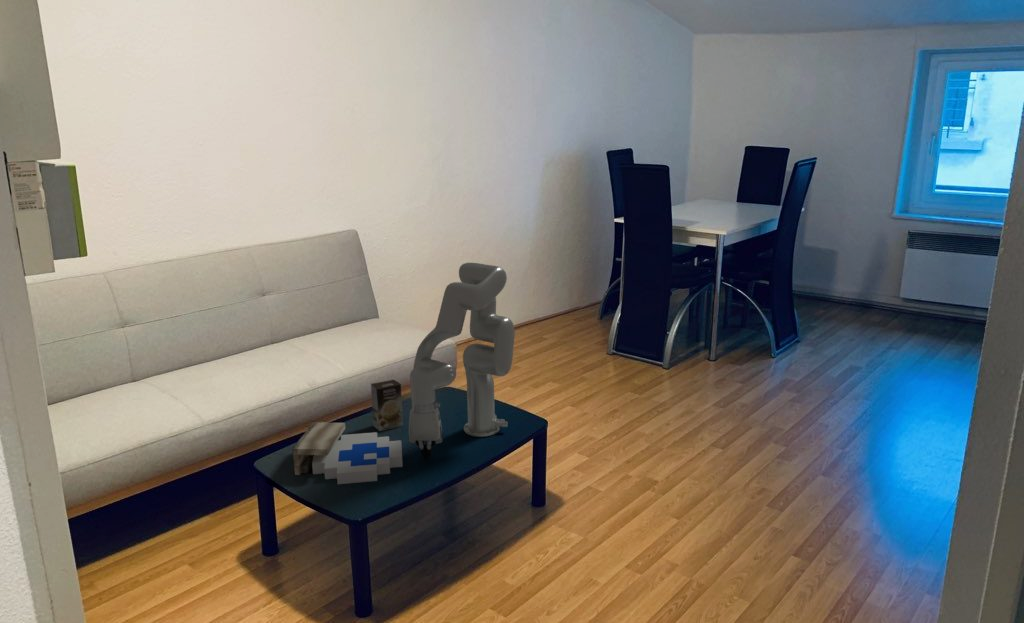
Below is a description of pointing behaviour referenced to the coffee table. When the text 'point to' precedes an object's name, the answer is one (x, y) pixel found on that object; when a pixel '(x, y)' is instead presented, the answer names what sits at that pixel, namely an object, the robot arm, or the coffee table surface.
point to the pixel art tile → (359, 458)
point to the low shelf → (315, 444)
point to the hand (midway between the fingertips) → (426, 458)
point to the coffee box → (386, 405)
